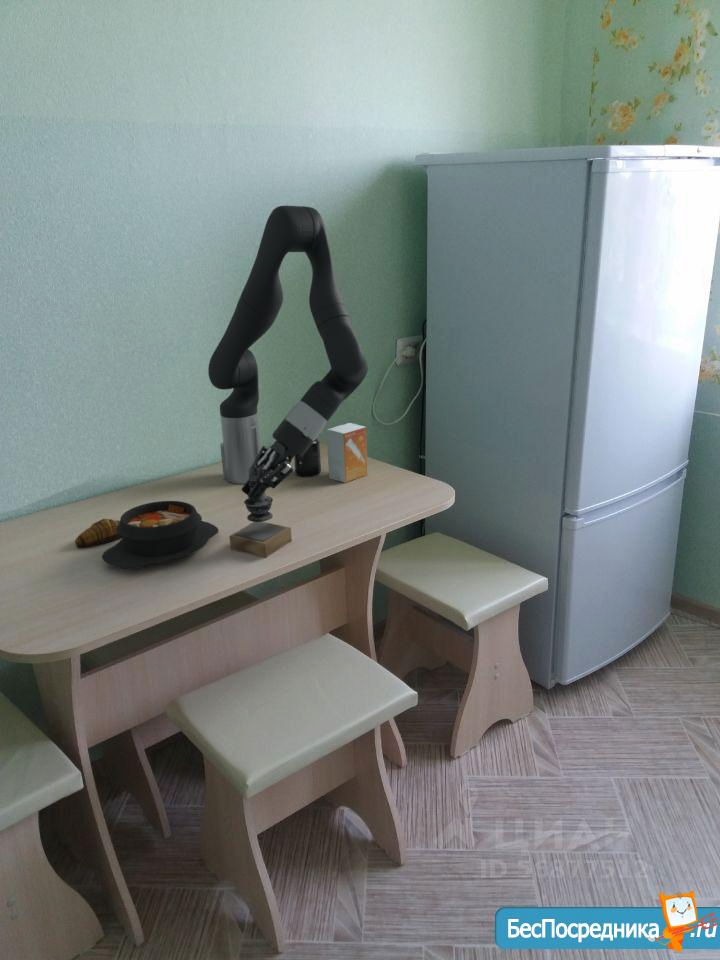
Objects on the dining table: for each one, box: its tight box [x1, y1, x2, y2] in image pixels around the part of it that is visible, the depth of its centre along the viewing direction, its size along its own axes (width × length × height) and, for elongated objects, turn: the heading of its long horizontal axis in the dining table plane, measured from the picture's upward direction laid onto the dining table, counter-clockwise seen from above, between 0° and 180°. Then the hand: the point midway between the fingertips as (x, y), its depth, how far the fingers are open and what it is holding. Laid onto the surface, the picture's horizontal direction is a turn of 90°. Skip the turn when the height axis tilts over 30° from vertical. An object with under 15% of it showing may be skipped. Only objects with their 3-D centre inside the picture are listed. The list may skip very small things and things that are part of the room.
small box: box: [326, 422, 368, 484], centre depth 199 cm, size 8×6×13 cm
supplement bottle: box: [293, 437, 322, 478], centre depth 203 cm, size 7×7×12 cm
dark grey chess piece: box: [243, 462, 274, 523], centre depth 159 cm, size 6×6×12 cm
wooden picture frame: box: [228, 521, 293, 558], centre depth 163 cm, size 9×9×3 cm
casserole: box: [101, 500, 219, 569], centre depth 161 cm, size 25×19×8 cm
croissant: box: [74, 518, 122, 548], centre depth 168 cm, size 14×7×5 cm, turn 131°
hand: (248, 495), depth 159 cm, fingers closed on dark grey chess piece, 3 cm apart
